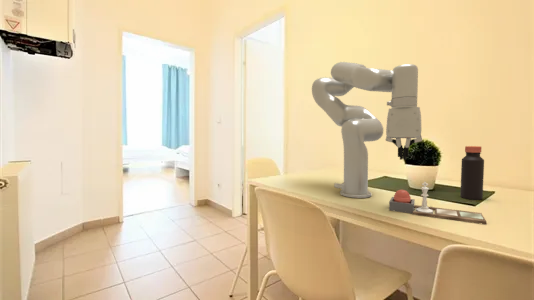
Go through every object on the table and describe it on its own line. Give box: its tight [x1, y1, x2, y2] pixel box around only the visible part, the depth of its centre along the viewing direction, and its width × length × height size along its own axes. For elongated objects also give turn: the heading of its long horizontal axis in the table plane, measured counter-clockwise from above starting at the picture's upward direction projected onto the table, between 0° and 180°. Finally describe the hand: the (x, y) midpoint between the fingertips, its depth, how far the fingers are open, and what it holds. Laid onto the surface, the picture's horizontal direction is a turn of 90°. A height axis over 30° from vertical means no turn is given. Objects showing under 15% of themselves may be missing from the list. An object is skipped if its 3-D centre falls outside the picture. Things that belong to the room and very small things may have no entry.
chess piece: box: [415, 181, 434, 214], centre depth 84 cm, size 5×5×10 cm
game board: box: [412, 204, 487, 225], centre depth 82 cm, size 18×9×1 cm, turn 58°
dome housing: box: [388, 196, 416, 215], centre depth 88 cm, size 7×7×3 cm
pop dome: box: [393, 189, 412, 203], centre depth 88 cm, size 5×5×5 cm
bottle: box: [460, 145, 485, 201], centre depth 101 cm, size 7×7×20 cm
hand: (403, 159), depth 87 cm, fingers closed
